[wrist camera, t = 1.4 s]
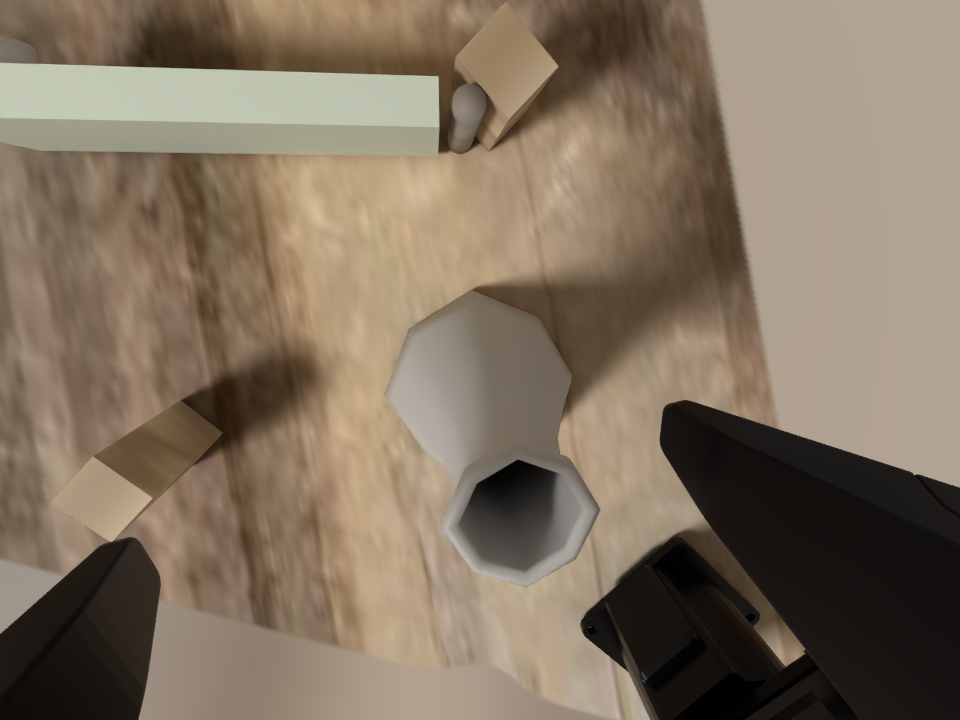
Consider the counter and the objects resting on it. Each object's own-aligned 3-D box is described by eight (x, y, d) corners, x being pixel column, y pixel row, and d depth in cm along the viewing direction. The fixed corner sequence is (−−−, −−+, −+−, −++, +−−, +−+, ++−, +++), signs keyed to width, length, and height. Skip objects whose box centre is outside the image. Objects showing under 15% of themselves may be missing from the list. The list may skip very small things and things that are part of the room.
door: (437, 156, 17) (439, 127, 13) (39, 150, 16) (-117, 115, 11) (436, 88, 17) (437, 32, 12) (23, 76, 15) (-148, 9, 11)
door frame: (523, 114, 17) (558, 66, 13) (191, 467, 19) (111, 542, 15) (485, 69, 17) (505, 1, 12) (148, 435, 19) (51, 502, 14)
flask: (468, 256, 18) (507, 275, 9) (600, 370, 20) (754, 491, 10) (353, 395, 19) (273, 551, 10) (487, 494, 21) (534, 710, 11)
